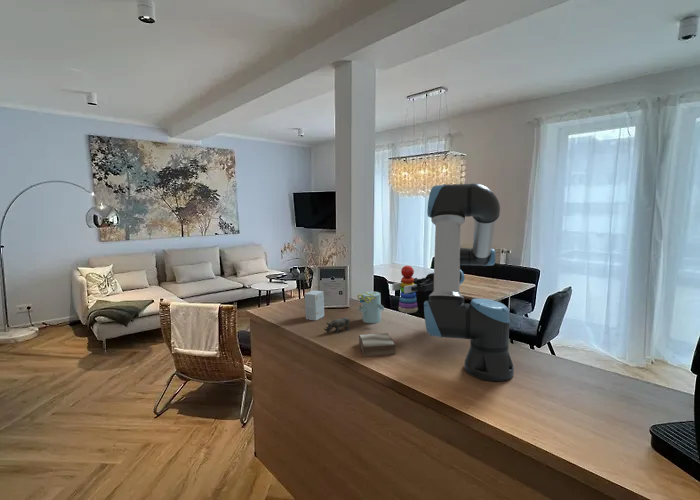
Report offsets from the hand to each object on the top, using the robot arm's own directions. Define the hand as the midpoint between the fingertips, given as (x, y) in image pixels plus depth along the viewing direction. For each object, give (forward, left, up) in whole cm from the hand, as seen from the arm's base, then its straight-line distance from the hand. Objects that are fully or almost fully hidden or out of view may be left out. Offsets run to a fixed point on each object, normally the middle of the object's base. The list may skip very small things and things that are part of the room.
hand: (398, 288), depth 143 cm
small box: (+37, +34, -22) cm, 55 cm away
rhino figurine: (+15, +24, -22) cm, 36 cm away
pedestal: (-7, +11, -22) cm, 25 cm away
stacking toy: (+2, -4, -10) cm, 11 cm away
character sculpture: (+27, +8, -22) cm, 36 cm away
